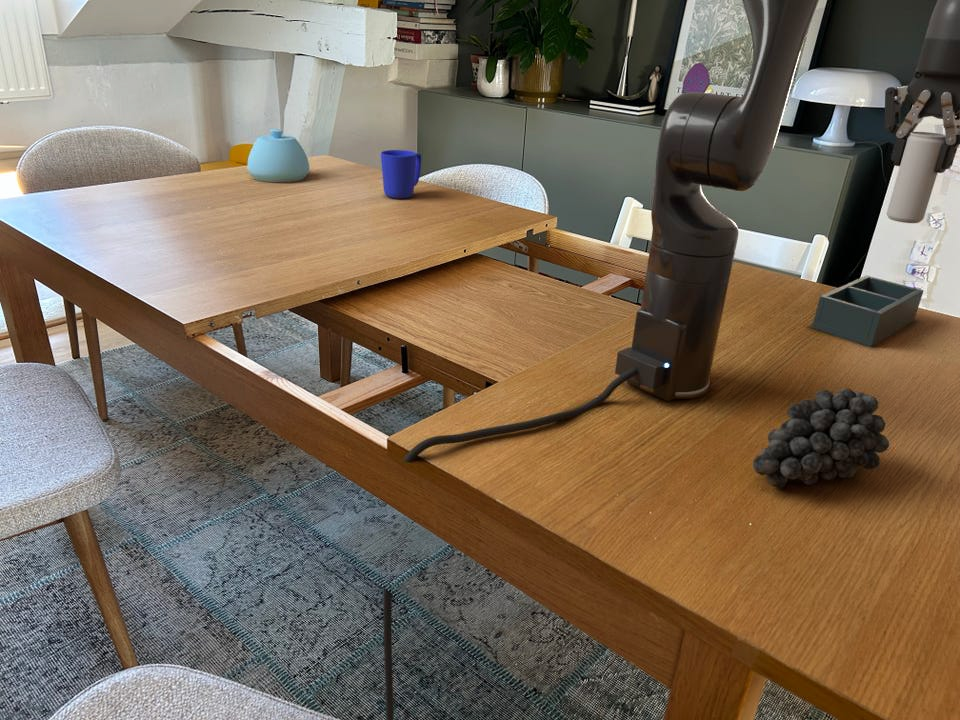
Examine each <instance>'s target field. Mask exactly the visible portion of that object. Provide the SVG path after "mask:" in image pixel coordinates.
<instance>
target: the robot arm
mask: <svg viewBox="0 0 960 720" xmlns="http://www.w3.org/2000/svg"><path fill="white" fill-rule="evenodd" d="M819 1H820V0H741V2H742V4H743V8H744V13H745V15H746V18H747V22H748V27H749V30H750V34H751V35H750V36H751V42H752V50H753V51H752V63H751V70H750V73H749V79H748V82H747V86H746V89H745V91H744V93H743V95H742V96H736V95H727V94H718V93H711V92H701V91H686V92H683V93H681V94H679V95H677V97H675V98H674V99H673V100H672V102H671V103H670V105H669V107H668V108H667V110H666V112H665V115H664V116H663V120H662V123H661V127H660V131H659V135H658V140H657V150H656V158H655V159H656V160H655V173H654V180H653V181H654V183H653V185H654V186H653V192H652V193H653V194H652V200H651V201H652V202H651V210H650V211H651V213H650V214H651V215H650V217H651V226H652V227H651V228H652V232H651V237H650V244H649V251H648V252H649V253H648V258H647V265H646V271H645V278H644V284H643V285H644V286H643V291H642V298H641V304H640V309H638V310H637V311H636V315H635V319H634V320H635V321H634V327H633V333H632V341H631V346H628V347H626V348H624V349H621V350H619V351H617V356H616V363H615V370H614V374H616V375H617V377H616V378H615V379H613V380H612V381H611V382H610V383H609V384H608V385H607V387H605V389H604V390H603V391H602V392H601V393H600V394H599V395H597V396H596V397H594V398H593V399H591V400H590V401H588V402H586V403H585V404H582V405H581V406H577V407H576V408H572V409H569V410H568V409H567V410H565V411H560V412H557V413H552V414H549V415H545V416H542V417H538V418H534V419H530V420H526V421H521V422H516V423H515V422H514V423H509V424H502V425H497V426H492V427H491V426H490V427H485V428H481V429H476V430H471V431H467V432H462V433H456V434H445V435H443V434H442V435H436V436H432V437H428V438H426V439H424V440H422V441H420V442H418V443H417V444H416V445H414V446H413V447H412V448H411V449H410V450H409V451H408V452H407V454H406V455H405V457H404V458H403V462H404V463H411V462H413V461H414V460H415V459H416V458H417V457H418V456H419V455H421V454H422V453H423V452H424V451H426V450H428V449H429V448H431V447H435V446H440V445H448V444H449V445H450V444H459V443H465V442H469V441H473V440H474V441H475V440H477V439H483V438H488V437H494V436H498V435H504V434H509V433H515V432H522V431H525V430H526V431H527V430H530V429H535V428H539V427H542V426H546V425H549V424H553V423H557V422H561V421H564V420H569V419H572V418H574V417H577V416H578V415H579V416H580V415H581V414H583V413H585V412H587V411H589V410H591V409H594V408H596V407H597V406H599V405H600V404H602V403H603V402H605V401H606V400H607V399H609V397H610V396H611V395H612V394H613V392H614V391H615V390H616V389H617V388H618V387H620V386H621V385H622V384H623V383H626V384H629V385H630V386H633V387H635V388H637V389H640V390H642V391H644V392H647V393H649V394H650V395H653V396H655V397H658V398H660V399H662V400H664V401H666V402H671V401H672V400H687V399H695V398H698V397H702V396H703V395H705V394H706V393H707V392H708V390H709V387H710V382H711V379H710V377H711V373H712V369H713V368H712V367H713V364H714V357H715V353H716V347H717V343H718V339H719V332H720V328H721V324H722V323H721V322H722V318H723V313H724V308H725V304H726V299H727V294H728V293H727V292H728V288H729V284H730V283H729V282H730V278H731V274H732V270H733V263H734V259H735V255H736V249H737V244H738V240H739V227H738V225H737V224H736V222H735V221H733V219H732V218H730V217H728V216H727V215H726V214H724V213H722V212H721V211H720V210H718V209H717V208H716V207H714V205H712V203H710V202H709V200H708V199H707V198H706V196H705V195H704V193H703V190H702V189H703V188H702V186H705V187H710V188H715V189H720V190H726V191H732V192H746V191H748V190H751V189H752V188H753V187H754V186H755V185H756V184H757V183H758V181H759V180H760V179H761V178H762V176H763V174H764V172H765V170H766V168H767V166H768V163H769V161H770V158H771V156H772V154H773V150H774V147H775V144H776V141H777V137H778V134H779V130H780V127H781V123H782V120H783V117H784V112H785V109H786V106H787V103H788V98H789V94H790V92H791V91H790V90H791V87H792V84H793V80H794V76H795V72H796V70H797V65H798V63H799V58H800V56H801V53H802V49H803V46H804V44H805V40H806V37H807V34H808V31H809V29H810V25H811V23H812V19H813V17H814V15H815V12H816V9H817V7H818V4H819ZM925 33H926V34H925V37H924V40H923V43H922V48H921V51H920V54H919V58H918V61H917V65H916V69H915V74H914V77H913V78H912V80H911V81H910V82H909V83H908V85H903V86H889V87H887V88H886V89H885V90H884V124H883V125H884V127H883V128H884V131H885V132H887V133H891V134H892V135H894V136H895V141H894V145H893V149H892V151H891V155H890V160H891V161H892V162H893V166H895V167H900V164H901V160H902V157H903V153H904V150H905V146H906V142H907V139H908V137H909V136H911V134H910V133H911V132H915V131H916V128H917V127H918V126H919V124H920V123H922V121H923V120H924V118H928V117H933V118H936V119H939V120H942V123H943V124H942V125H943V128H944V135H945V137H946V144H945V145H943V146H942V149H941V152H940V155H939V159H938V162H937V165H936V168H935V172H936V173H937V174H942V173H945V172H946V170H949V169H950V168H951V167H952V166H953V164H954V161H955V157H956V154H957V151H958V148H959V146H960V0H937V1H936V4H935V6H934V9H933V10H932V14H931V16H930V19H929V22H928V26H927V29H926V32H925ZM907 95H908V98H909V100H910V102H911V104H912V107H911V108H910V110H909V111H908V113H907V114H906V116H905V117H904V121H903V122H902V123H901V103H903V102H904V101H905V100H906V96H907ZM392 598H393V594H392V592H391V591H389V590H388V589H387V587H385V586H383V655H384V656H383V657H384V658H383V659H384V687H385V689H384V690H385V716H386V718H385V719H386V720H394V685H393V684H394V682H393V681H394V680H393V677H394V676H393V646H392V645H393V644H392V643H393V639H392V638H393V637H392V632H393V631H392V629H393V628H392V607H393V605H392V604H393V602H392V601H393V599H392Z"/></svg>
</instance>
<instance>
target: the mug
mask: <svg viewBox="0 0 960 720" xmlns="http://www.w3.org/2000/svg"><path fill="white" fill-rule="evenodd" d="M380 160H381V161H380V162H381V163H380V164H381V173H382V184H383V185H382V186H383V193H384V195H385V196H386V197H387V198H390V199H396V200H401V199H409V198H411V197H413V195H414V190H415V187H416V186H417V185H418V183H419V180H420V177H421V170H422V169H421V168H422V153H420V152H414V151H411V150H404V149H391V150H390V149H389V150H383V151H381V152H380Z"/></svg>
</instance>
